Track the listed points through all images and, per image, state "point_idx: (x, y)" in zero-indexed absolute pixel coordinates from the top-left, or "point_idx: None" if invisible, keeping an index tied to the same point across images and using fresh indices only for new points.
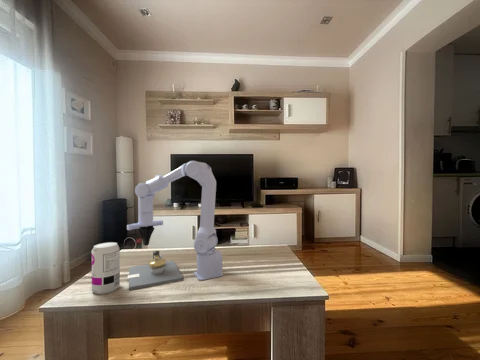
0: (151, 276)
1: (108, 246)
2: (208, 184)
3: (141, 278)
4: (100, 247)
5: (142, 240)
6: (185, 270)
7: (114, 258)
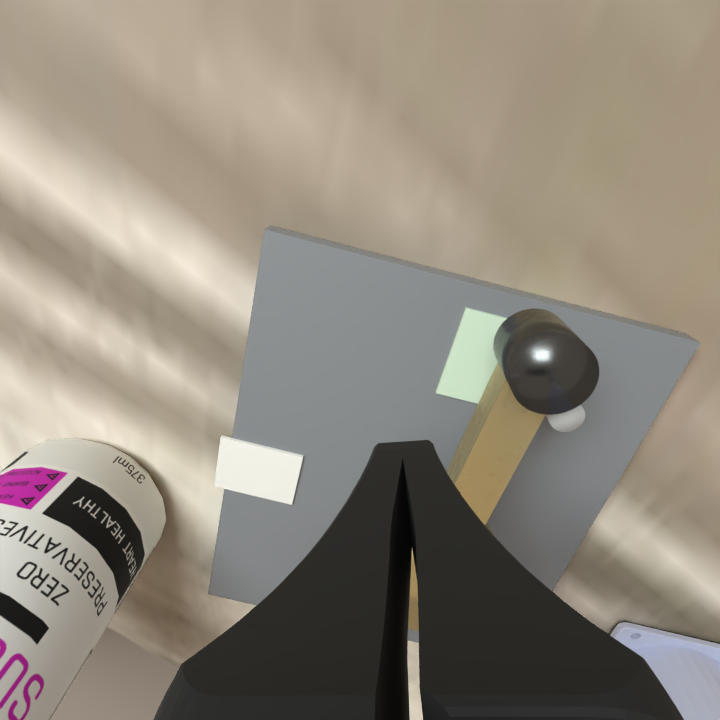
0: None
1: None
2: None
3: (297, 533)
4: None
5: (357, 484)
6: (620, 546)
7: None
